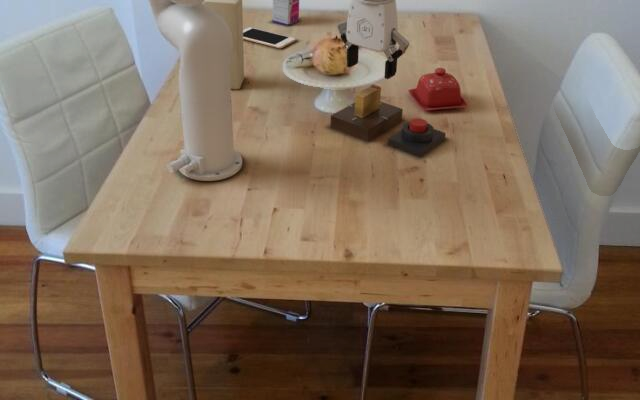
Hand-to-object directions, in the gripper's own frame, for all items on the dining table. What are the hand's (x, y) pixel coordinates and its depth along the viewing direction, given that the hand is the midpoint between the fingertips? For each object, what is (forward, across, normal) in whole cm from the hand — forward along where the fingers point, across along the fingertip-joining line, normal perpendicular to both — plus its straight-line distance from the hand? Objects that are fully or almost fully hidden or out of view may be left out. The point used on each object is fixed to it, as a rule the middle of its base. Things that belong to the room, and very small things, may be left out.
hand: (370, 71), depth 157 cm
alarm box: (+13, +13, -1) cm, 18 cm away
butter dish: (+13, +6, +19) cm, 24 cm away
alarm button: (+10, +13, -1) cm, 16 cm away
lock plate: (+12, 0, -1) cm, 13 cm away
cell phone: (+13, -52, +24) cm, 59 cm away
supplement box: (+13, -57, +38) cm, 70 cm away
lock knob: (+9, 0, -1) cm, 9 cm away
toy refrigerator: (+12, -39, -4) cm, 41 cm away
